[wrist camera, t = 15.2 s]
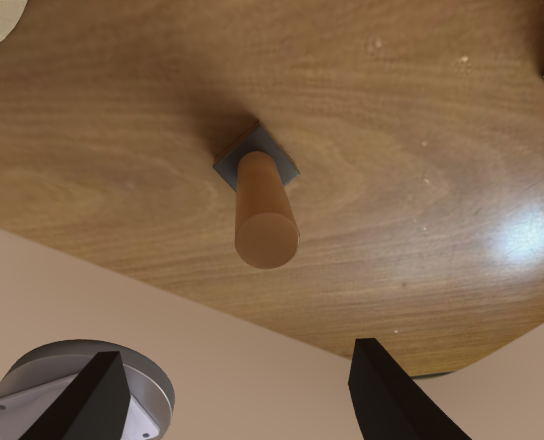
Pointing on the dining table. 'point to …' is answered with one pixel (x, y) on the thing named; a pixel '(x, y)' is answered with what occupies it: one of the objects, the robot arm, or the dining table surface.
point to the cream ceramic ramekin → (10, 15)
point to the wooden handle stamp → (261, 197)
